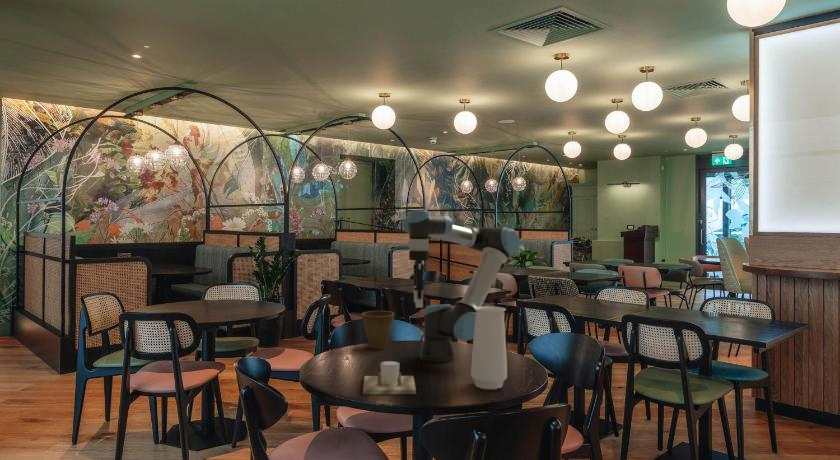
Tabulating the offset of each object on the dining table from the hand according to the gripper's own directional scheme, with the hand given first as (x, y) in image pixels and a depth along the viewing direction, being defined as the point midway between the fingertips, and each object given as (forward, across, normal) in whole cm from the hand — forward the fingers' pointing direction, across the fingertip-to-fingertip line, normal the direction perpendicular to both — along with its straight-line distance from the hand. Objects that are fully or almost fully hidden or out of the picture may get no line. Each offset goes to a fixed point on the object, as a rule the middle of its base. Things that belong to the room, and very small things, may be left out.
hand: (418, 304), depth 230 cm
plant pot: (+27, -46, -16) cm, 56 cm away
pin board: (+27, +18, -11) cm, 34 cm away
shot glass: (+25, +18, -11) cm, 33 cm away
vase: (+27, +17, +25) cm, 40 cm away
